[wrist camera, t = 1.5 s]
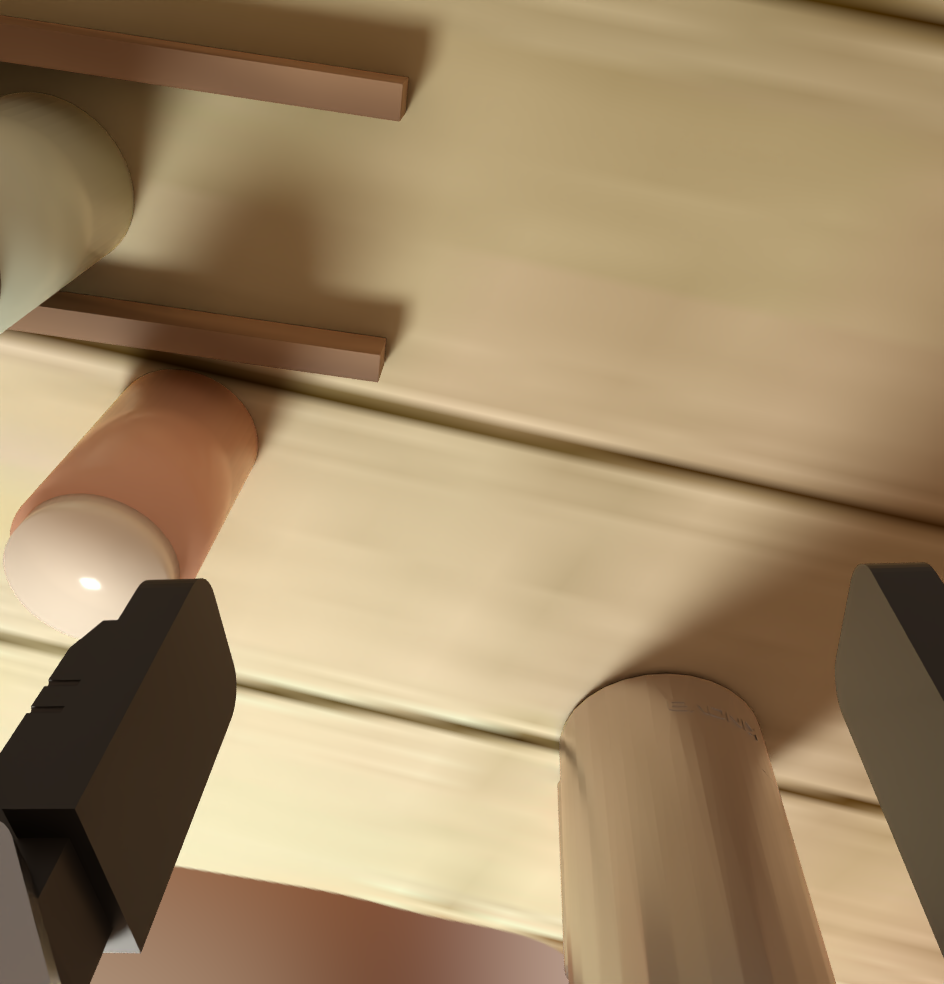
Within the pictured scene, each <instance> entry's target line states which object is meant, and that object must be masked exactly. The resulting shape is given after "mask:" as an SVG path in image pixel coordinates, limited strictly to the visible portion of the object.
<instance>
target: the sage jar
mask: <svg viewBox="0 0 944 984" xmlns="http://www.w3.org/2000/svg"><path fill="white" fill-rule="evenodd" d="M133 209H134V192H133V185H132V180H131V176H130V173H129V170H128V167H127V165H126V162H125V160H124V158H123V156H122V154H121V152H120V150H119V148H118V147H117V145H116V144H115V142H114V141H113V139H112V138H111V137H110V136H109V134H108V133H107V132H106V131H105V129H104V128H103V127H102V126H101V125H100V124H99V123H98V122H97V121H96V120H94V119H93V118H92V117H91V116H90V115H88V114H87V113H86V112H84V111H83V110H81V109H80V108H78V107H77V106H75V105H73V104H71V103H69V102H67V101H65V100H63V99H61V98H58V97H55V96H52V95H48V94H43V93H37V92H19V93H13V94H9V95H5V96H2V97H0V334H1V333H2V332H4V331H5V330H7V329H8V328H9V327H11V326H12V325H13V324H15V323H16V322H17V321H19V320H20V319H21V318H23V317H24V316H25V315H27V314H28V313H29V312H31V311H32V310H33V309H35V308H36V307H37V306H39V305H40V304H41V303H43V302H44V301H45V300H47V299H48V298H49V297H51V296H52V295H53V294H55V293H56V292H58V291H59V290H60V289H62V288H63V287H64V286H66V285H67V284H68V283H70V282H71V281H72V280H74V279H75V278H76V277H78V276H79V275H80V274H82V273H83V272H84V271H86V270H87V269H88V268H90V267H91V266H92V265H94V264H95V263H96V262H98V261H99V260H100V259H102V258H103V257H105V256H106V255H107V254H108V253H110V252H111V251H112V250H114V249H115V248H116V247H117V246H118V245H119V243H120V242H121V241H122V239H123V238H124V236H125V235H126V233H127V231H128V229H129V226H130V223H131V220H132V216H133Z"/></svg>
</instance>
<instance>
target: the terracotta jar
mask: <svg viewBox="0 0 944 984" xmlns="http://www.w3.org/2000/svg"><path fill="white" fill-rule="evenodd" d="M257 451H258V438H257V432H256V428H255V425H254V423H253V420H252V418H251V416H250V414H249V412H248V411H247V409H246V408H245V406H244V405H243V404H242V402H241V401H240V400H239V399H238V398H237V397H236V396H235V395H234V394H233V393H232V392H231V391H230V390H228V389H227V388H226V387H224V386H223V385H222V384H220V383H218V382H217V381H215V380H213V379H211V378H209V377H207V376H204V375H202V374H199V373H196V372H192V371H187V370H178V369H165V370H159V371H154V372H151V373H148V374H146V375H144V376H142V377H140V378H138V379H137V380H135V381H134V382H133V383H132V384H131V385H129V386H128V387H127V388H126V390H125V391H124V392H123V393H122V394H121V395H120V396H119V397H118V399H117V400H116V401H115V402H114V403H113V404H112V405H111V406H110V408H109V409H108V410H107V411H106V412H105V413H104V414H103V415H102V416H101V418H100V419H99V420H98V421H97V422H96V423H95V424H94V425H93V427H92V428H91V429H90V430H89V431H88V432H87V433H86V434H85V436H84V437H83V438H82V439H81V440H80V441H79V442H78V443H77V444H76V446H75V447H74V448H73V449H72V450H71V451H70V452H69V453H68V455H67V456H66V457H65V458H64V459H63V460H62V461H61V462H60V463H59V465H58V466H57V467H56V468H55V469H54V470H53V471H52V472H51V474H50V475H49V476H48V477H47V478H46V479H45V480H44V481H43V483H42V484H41V485H40V486H39V487H38V488H37V489H36V490H35V491H34V493H33V494H32V495H31V496H30V497H29V498H28V499H27V500H26V502H25V503H24V504H23V505H22V506H21V507H20V509H19V510H18V512H17V513H16V515H15V517H14V519H13V522H12V526H11V530H10V538H9V539H8V542H7V544H6V546H5V550H4V557H3V564H4V571H5V575H6V578H7V581H8V583H9V585H10V587H11V589H12V591H13V593H14V594H15V596H16V597H17V598H18V600H19V601H20V602H21V604H22V605H23V606H24V607H25V608H26V609H27V610H28V611H29V612H30V613H32V614H33V615H34V616H35V617H36V618H38V619H39V620H40V621H42V622H43V623H45V624H46V625H48V626H50V627H51V628H53V629H55V630H57V631H59V632H61V633H63V634H66V635H68V636H71V637H74V638H77V639H81V638H82V637H84V636H85V635H86V634H87V633H88V632H90V631H91V630H92V629H93V628H94V627H96V626H97V625H98V624H99V623H101V622H102V621H103V620H118V619H119V617H120V615H121V614H122V612H123V610H124V609H125V607H126V606H127V604H128V602H129V601H130V599H131V597H132V596H133V594H134V593H135V591H136V589H137V588H138V586H139V585H140V584H141V583H142V582H143V581H145V580H160V579H195V577H196V575H197V573H198V572H199V570H200V568H201V566H202V564H203V562H204V560H205V558H206V556H207V554H208V552H209V550H210V548H211V546H212V545H213V543H214V541H215V539H216V537H217V535H218V533H219V531H220V529H221V527H222V525H223V523H224V521H225V520H226V518H227V516H228V514H229V512H230V510H231V508H232V506H233V504H234V502H235V500H236V498H237V496H238V494H239V493H240V491H241V489H242V487H243V485H244V483H245V481H246V479H247V477H248V475H249V473H250V471H251V469H252V468H253V465H254V463H255V460H256V456H257Z"/></svg>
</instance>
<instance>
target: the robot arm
mask: <svg viewBox="0 0 944 984" xmlns="http://www.w3.org/2000/svg"><path fill="white" fill-rule="evenodd" d="M835 683H836V691H837V697H838V702H839V705H840V709H841V712H842V714H843V717H844V719H845V722H846V724H847V726H848V729H849V731H850V734H851V736H852V738H853V741H854V743H855V746H856V748H857V750H858V753H859V755H860V758H861V760H862V762H863V765H864V767H865V770H866V772H867V774H868V777H869V779H870V782H871V784H872V786H873V789H874V791H875V794H876V796H877V799H878V801H879V803H880V806H881V808H882V811H883V813H884V815H885V818H886V820H887V823H888V825H889V827H890V830H891V832H892V835H893V837H894V839H895V842H896V844H897V847H898V849H899V851H900V854H901V856H902V859H903V861H904V863H905V866H906V868H907V871H908V873H909V875H910V878H911V880H912V883H913V885H914V887H915V890H916V892H917V895H918V897H919V899H920V902H921V904H922V907H923V909H924V912H925V914H926V916H927V919H928V921H929V924H930V926H931V928H932V931H933V933H934V936H935V938H936V940H937V943H938V945H939V948H940V950H941V952H942V955H943V957H944V584H943V582H942V581H941V579H940V578H939V576H938V575H937V573H936V572H935V571H934V569H933V568H932V567H931V566H930V565H929V564H927V563H923V562H920V563H880V564H860V565H858V566H857V567H856V568H855V570H854V572H853V575H852V578H851V583H850V588H849V593H848V598H847V604H846V609H845V614H844V619H843V624H842V630H841V635H840V640H839V645H838V650H837V656H836V662H835ZM235 700H236V673H235V668H234V664H233V660H232V656H231V653H230V649H229V646H228V642H227V639H226V635H225V631H224V628H223V624H222V621H221V617H220V614H219V610H218V606H217V603H216V599H215V596H214V592H213V589H212V587H211V585H210V584H209V582H208V581H207V580H206V579H203V578H200V579H160V580H145V581H143V582H142V583H141V584H140V585H139V586H138V588H137V589H136V591H135V593H134V594H133V596H132V597H131V599H130V601H129V602H128V604H127V606H126V607H125V609H124V610H123V612H122V614H121V615H120V617H119V619H118V620H103V621H102V622H101V623H99V624H98V625H97V626H96V627H94V628H93V629H92V630H91V631H90V632H88V633H87V634H86V635H85V636H84V637H82V638H81V639H80V640H79V641H77V642H76V643H75V644H74V645H73V646H71V647H70V648H69V650H68V651H67V653H66V654H65V656H64V657H63V659H62V660H61V662H60V663H59V665H58V666H57V668H56V669H55V671H54V672H53V674H52V675H51V677H50V678H49V685H48V686H44V687H43V689H42V691H41V692H40V694H39V695H38V697H37V698H36V700H35V701H34V703H33V704H32V706H31V713H26V715H25V716H24V718H23V719H22V721H21V722H20V724H19V725H18V727H17V729H16V730H15V732H14V733H13V735H12V736H11V738H10V739H9V741H8V742H7V744H6V745H5V747H4V748H3V750H2V751H1V753H0V984H90V982H91V979H92V977H93V975H94V972H95V970H96V967H97V965H98V963H99V960H100V958H101V956H102V953H141V951H142V949H143V946H144V943H145V941H146V938H147V936H148V933H149V930H150V928H151V925H152V923H153V920H154V918H155V915H156V912H157V910H158V907H159V904H160V902H161V900H162V897H163V894H164V892H165V889H166V886H167V884H168V881H169V879H170V876H171V873H172V871H173V868H174V866H175V863H176V861H177V858H178V855H179V853H180V850H181V848H182V845H183V843H184V840H185V837H186V835H187V832H188V830H189V827H190V824H191V822H192V819H193V817H194V814H195V811H196V809H197V806H198V804H199V801H200V798H201V796H202V793H203V791H204V788H205V785H206V783H207V780H208V778H209V775H210V773H211V770H212V767H213V765H214V762H215V760H216V757H217V754H218V752H219V749H220V747H221V744H222V741H223V739H224V736H225V734H226V731H227V728H228V726H229V723H230V721H231V718H232V715H233V711H234V707H235ZM560 777H561V780H560V781H559V783H558V785H557V788H558V815H559V842H560V868H561V895H562V922H563V949H564V970H565V975H566V977H567V979H568V980H569V984H836V982H835V978H834V975H833V972H832V968H831V965H830V962H829V958H828V955H827V951H826V948H825V945H824V941H823V938H822V935H821V931H820V928H819V924H818V921H817V918H816V914H815V911H814V908H813V904H812V901H811V897H810V894H809V891H808V887H807V884H806V881H805V877H804V874H803V870H802V867H801V864H800V860H799V857H798V854H797V850H796V847H795V844H794V840H793V837H792V833H791V830H790V827H789V823H788V820H787V817H786V813H785V810H784V806H783V803H782V799H781V796H780V792H779V789H778V786H777V782H776V779H775V776H774V772H773V769H772V766H771V762H770V759H769V756H768V752H767V749H766V745H765V742H764V739H763V735H762V732H761V729H760V726H759V724H758V721H757V719H756V716H755V714H754V713H753V711H752V710H751V709H750V708H749V706H748V705H747V704H746V703H745V701H744V700H742V699H741V698H740V697H738V696H737V695H736V694H734V693H733V692H732V691H730V690H729V689H727V688H725V687H723V686H721V685H718V684H716V683H714V682H712V681H709V680H705V679H701V678H697V677H694V676H689V675H678V674H653V675H643V676H638V677H634V678H629V679H625V680H622V681H619V682H617V683H614V684H612V685H609V686H607V687H604V688H602V689H601V690H599V691H597V692H596V693H594V694H593V695H591V696H589V697H588V698H586V699H585V700H584V701H583V702H582V703H581V704H580V705H579V706H578V707H577V708H576V709H575V710H574V711H573V712H572V714H571V715H570V717H569V718H568V720H567V721H566V723H565V724H564V727H563V730H562V733H561V736H560Z"/></svg>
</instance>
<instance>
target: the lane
mask: <svg viewBox="0 0 944 984" xmlns="http://www.w3.org/2000/svg"><path fill="white" fill-rule="evenodd" d="M0 61H3V62H9V63H16V64H23V65H29V66H36V67H42V68H49V69H56V70H62V71H69V72H76V73H82V74H89V75H95V76H102V77H109V78H115V79H122V80H128V81H135V82H142V83H148V84H155V85H162V86H168V87H175V88H181V89H188V90H195V91H201V92H208V93H215V94H221V95H228V96H234V97H241V98H248V99H254V100H261V101H267V102H274V103H281V104H287V105H294V106H301V107H307V108H314V109H320V110H327V111H334V112H340V113H347V114H354V115H360V116H367V117H373V118H380V119H387V120H393V121H400V120H401V119H402V117H403V116H404V114H405V113H406V102H407V90H408V79H409V77H403V76H397V75H390V74H383V73H377V72H370V71H364V70H357V69H351V68H344V67H338V66H331V65H324V64H318V63H311V62H305V61H298V60H292V59H285V58H278V57H272V56H265V55H259V54H252V53H246V52H239V51H233V50H226V49H219V48H213V47H206V46H200V45H193V44H187V43H180V42H174V41H167V40H160V39H154V38H147V37H141V36H134V35H128V34H121V33H114V32H108V31H101V30H95V29H88V28H82V27H75V26H69V25H62V24H55V23H49V22H42V21H36V20H29V19H23V18H16V17H10V16H3V15H0ZM8 329H10V330H17V331H24V332H31V333H38V334H45V335H52V336H59V337H66V338H73V339H80V340H87V341H94V342H100V343H107V344H114V345H121V346H128V347H135V348H142V349H149V350H156V351H163V352H170V353H177V354H184V355H191V356H198V357H205V358H212V359H219V360H226V361H233V362H240V363H247V364H254V365H261V366H268V367H275V368H282V369H289V370H296V371H303V372H310V373H317V374H324V375H331V376H338V377H345V378H352V379H359V380H366V381H373V382H378V381H379V378H380V375H381V372H382V369H383V366H384V359H385V347H386V338H381V337H374V336H367V335H360V334H353V333H346V332H339V331H333V330H326V329H319V328H312V327H305V326H298V325H291V324H284V323H277V322H270V321H263V320H256V319H250V318H243V317H236V316H229V315H222V314H215V313H208V312H201V311H194V310H187V309H180V308H173V307H166V306H160V305H153V304H146V303H139V302H132V301H125V300H118V299H111V298H104V297H97V296H90V295H83V294H77V293H70V292H63V291H58V292H56V293H55V294H53V295H52V296H51V297H49V298H48V299H47V300H45V301H44V302H43V303H41V304H40V305H39V306H37V307H36V308H35V309H33V310H32V311H31V312H29V313H28V314H27V315H25V316H24V317H23V318H21V319H20V320H19V321H17V322H16V323H15V324H13V325H12V326H11V327H9V328H8Z"/></svg>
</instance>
